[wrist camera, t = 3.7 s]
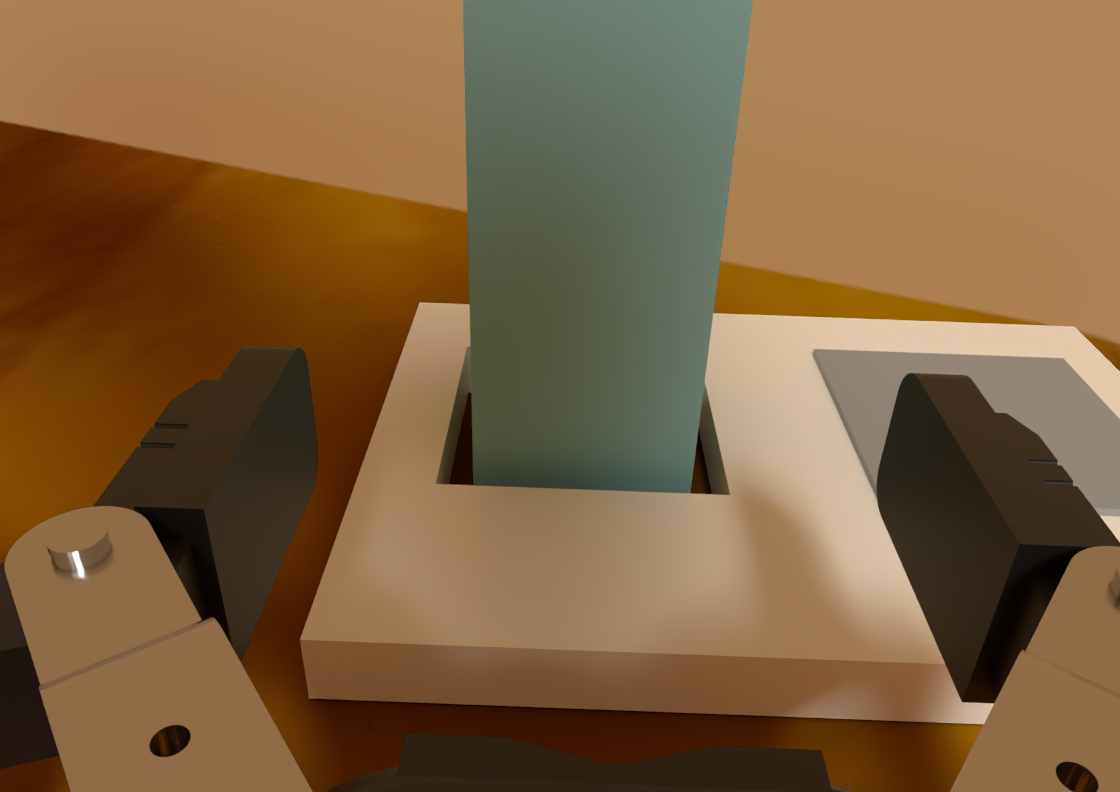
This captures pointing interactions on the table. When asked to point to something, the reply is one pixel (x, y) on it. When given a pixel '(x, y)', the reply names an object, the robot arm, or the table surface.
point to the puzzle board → (684, 535)
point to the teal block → (595, 233)
